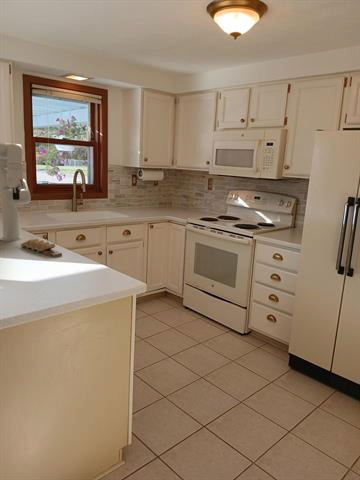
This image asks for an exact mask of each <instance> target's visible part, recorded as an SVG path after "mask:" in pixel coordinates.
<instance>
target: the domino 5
mask: <svg viewBox="0 0 360 480" xmlns="http://www.w3.org/2000/svg"><path fill="white" fill-rule="evenodd" d="M41 255H44V256H48V257H50V258H59V257H62V256H63V253H62V252H60V251H57V250H54V249H53V248H52V249H47V250H42V254H41Z"/></svg>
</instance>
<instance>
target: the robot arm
mask: <svg viewBox="0 0 360 480" xmlns="http://www.w3.org/2000/svg"><path fill="white" fill-rule="evenodd" d="M23 154H24V149H23V147H22V145H21V144H18V143H9V142H0V207H1V217H2V218H1V220H2V221H1V222H2V225H1V226H2V236H1V237H0V241H2V242H3V241H4V242H7V241H19V240H23V237H22V236H21V235H20V213H19V209H18V208H17V207H16V206H15V205H28V204H30V202H31V200H32V199H31V198H32V197H31V192H30V189H29V187H28V182H27V181H26V180H25V179H24V173H23Z"/></svg>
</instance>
